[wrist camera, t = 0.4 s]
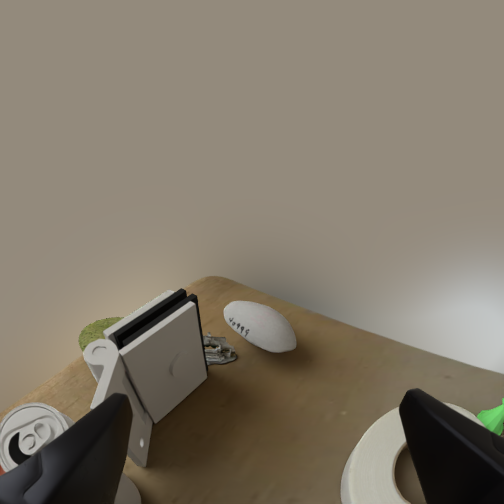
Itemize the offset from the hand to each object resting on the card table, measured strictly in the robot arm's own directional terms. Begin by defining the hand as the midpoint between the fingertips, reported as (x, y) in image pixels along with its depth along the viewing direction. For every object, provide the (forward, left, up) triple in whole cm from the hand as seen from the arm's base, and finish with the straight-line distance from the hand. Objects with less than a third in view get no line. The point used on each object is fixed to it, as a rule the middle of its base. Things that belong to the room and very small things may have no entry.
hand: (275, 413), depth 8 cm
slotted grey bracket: (+17, +6, -17) cm, 25 cm away
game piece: (+3, -24, -17) cm, 30 cm away
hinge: (+10, +9, -17) cm, 22 cm away
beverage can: (-1, +12, -17) cm, 21 cm away
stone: (+20, 0, -17) cm, 26 cm away
